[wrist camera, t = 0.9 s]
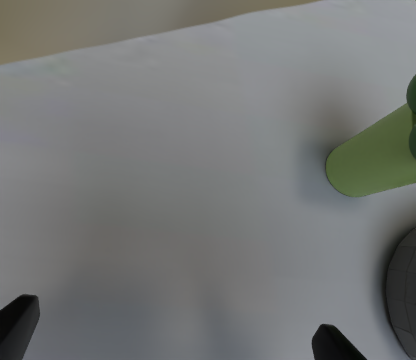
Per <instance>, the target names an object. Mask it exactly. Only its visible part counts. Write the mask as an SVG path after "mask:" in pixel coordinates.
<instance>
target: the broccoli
mask: <svg viewBox="0 0 416 360" xmlns="http://www.w3.org/2000/svg"><path fill="white" fill-rule="evenodd" d="M406 98H407V103H406V104H404V105H403V106H401V107H400V108H398V109H397V110H395V111H394V112H392V113H390V114H389V115H387V116H386V117H384V118H383V119H381V120H379V121H378V122H376V123H375V124H373V125H372V126H370V127H368V128H367V129H365V130H364V131H362V132H361V133H359V134H358V135H356V136H354V137H353V138H351V139H350V140H348V141H347V142H345V143H343V144H342V145H340V146H339V147H337V148H336V149H334V150H333V151H332V152H331V153H330V155H329V157H328V159H327V162H326V173H327V177H328V179H329V181H330V183H331V184H332V186H333V187H334V188H335V189H336V190H338V191H339V192H340V193H342V194H344V195H347V196H350V197H361V196H366V195H370V194H373V193H377V192H381V191H385V190H389V189H393V188H397V187H401V186H405V185H409V184H413V183H416V75H415V76H414V77H413V78H412V80H411V82H410V84H409V86H408V89H407V94H406Z"/></svg>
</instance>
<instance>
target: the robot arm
mask: <svg viewBox="0 0 416 360" xmlns="http://www.w3.org/2000/svg"><path fill="white" fill-rule="evenodd" d="M39 317H40V309H39V300H38V297H37V296H36V295H28V294H23V295H20V296H19V297H17V298H16V299H15V300H13V301H12V302H11V303H9V304H8V305H7V306H5V307H4V308H3V309H1V310H0V360H22V359H23V356H24V354H25V351H26V349H27V347H28V344H29V342H30V340H31V337H32V335H33V333H34V330H35V328H36V325H37V323H38V320H39ZM312 349H313V354H314V359H315V360H367V359H366V358H365V357H364V356H363V355H362V354H361V353H360V352H359V351H358V350H357V349H356V348H355V346H354V345H353V344H352V343H351V342H350V341H349V340H348V339H347V338H346V337H345V336H344V335H343V334H342V333H341V332H340V331H339V330H338V329H337V328H336V327H335V326H334V325H329V324H322V325H320V326H319V328H318V330H317V331H316V333H315V335H314V336H313V338H312Z"/></svg>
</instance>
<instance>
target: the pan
mask: <svg viewBox="0 0 416 360" xmlns="http://www.w3.org/2000/svg"><path fill="white" fill-rule="evenodd" d="M386 299H387V304H388V309H389V313H390V318H391V323H392V326H393V328H394V330H395V332H396V334H397V336H398V338H399V340H400V342H401V343H402V345H403V347H404V349H405V351H406V353H407V354H408V355H409V356H410V357H411V358H412V360H416V228H414V229H412V230H411V232H410V233H409V234H408V235H407V236H406V237H405V238H404V239H403V240H402V241H401V242H400V243H399V245H398V247H397V248H396V250H395V253H394V255H393V258H392V260H391V263H390V265H389V267H388V271H387V284H386Z"/></svg>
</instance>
